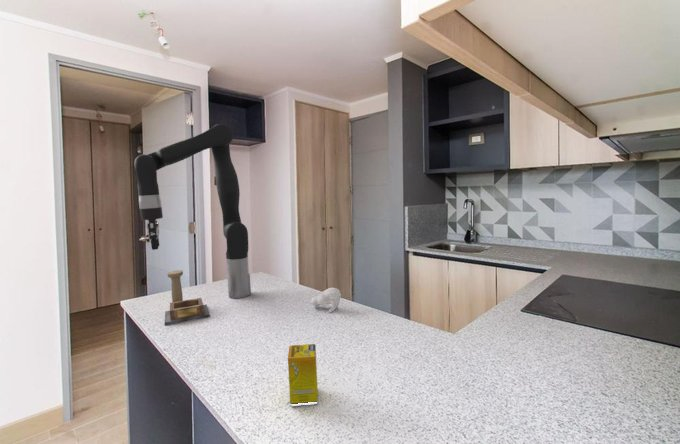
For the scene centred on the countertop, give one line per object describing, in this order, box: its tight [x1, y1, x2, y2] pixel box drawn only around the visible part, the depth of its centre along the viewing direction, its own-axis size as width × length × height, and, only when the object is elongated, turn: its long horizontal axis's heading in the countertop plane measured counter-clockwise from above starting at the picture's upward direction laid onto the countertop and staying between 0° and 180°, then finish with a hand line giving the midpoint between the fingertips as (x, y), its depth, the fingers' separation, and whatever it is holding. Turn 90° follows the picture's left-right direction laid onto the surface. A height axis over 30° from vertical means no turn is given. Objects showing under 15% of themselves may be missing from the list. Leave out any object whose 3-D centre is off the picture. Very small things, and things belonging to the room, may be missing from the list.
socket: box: [164, 297, 211, 326], centre depth 125 cm, size 15×13×4 cm
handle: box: [167, 269, 184, 303], centre depth 133 cm, size 5×6×15 cm
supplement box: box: [287, 343, 319, 404], centre depth 72 cm, size 6×6×11 cm
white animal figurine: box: [311, 287, 342, 313], centre depth 127 cm, size 6×8×12 cm
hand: (155, 247), depth 130 cm, fingers open, 8 cm apart
